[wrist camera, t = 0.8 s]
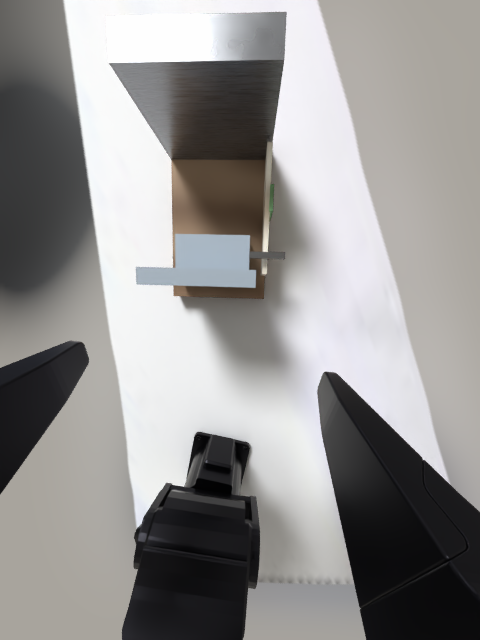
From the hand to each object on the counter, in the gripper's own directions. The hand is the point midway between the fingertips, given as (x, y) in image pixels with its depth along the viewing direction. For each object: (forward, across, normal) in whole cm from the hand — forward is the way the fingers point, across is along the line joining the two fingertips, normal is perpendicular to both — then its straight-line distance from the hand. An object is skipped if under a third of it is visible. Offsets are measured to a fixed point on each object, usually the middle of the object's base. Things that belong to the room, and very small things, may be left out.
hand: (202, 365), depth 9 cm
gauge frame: (+18, +2, -2) cm, 19 cm away
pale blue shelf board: (+15, +1, +1) cm, 15 cm away
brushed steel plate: (+19, +3, -8) cm, 21 cm away
